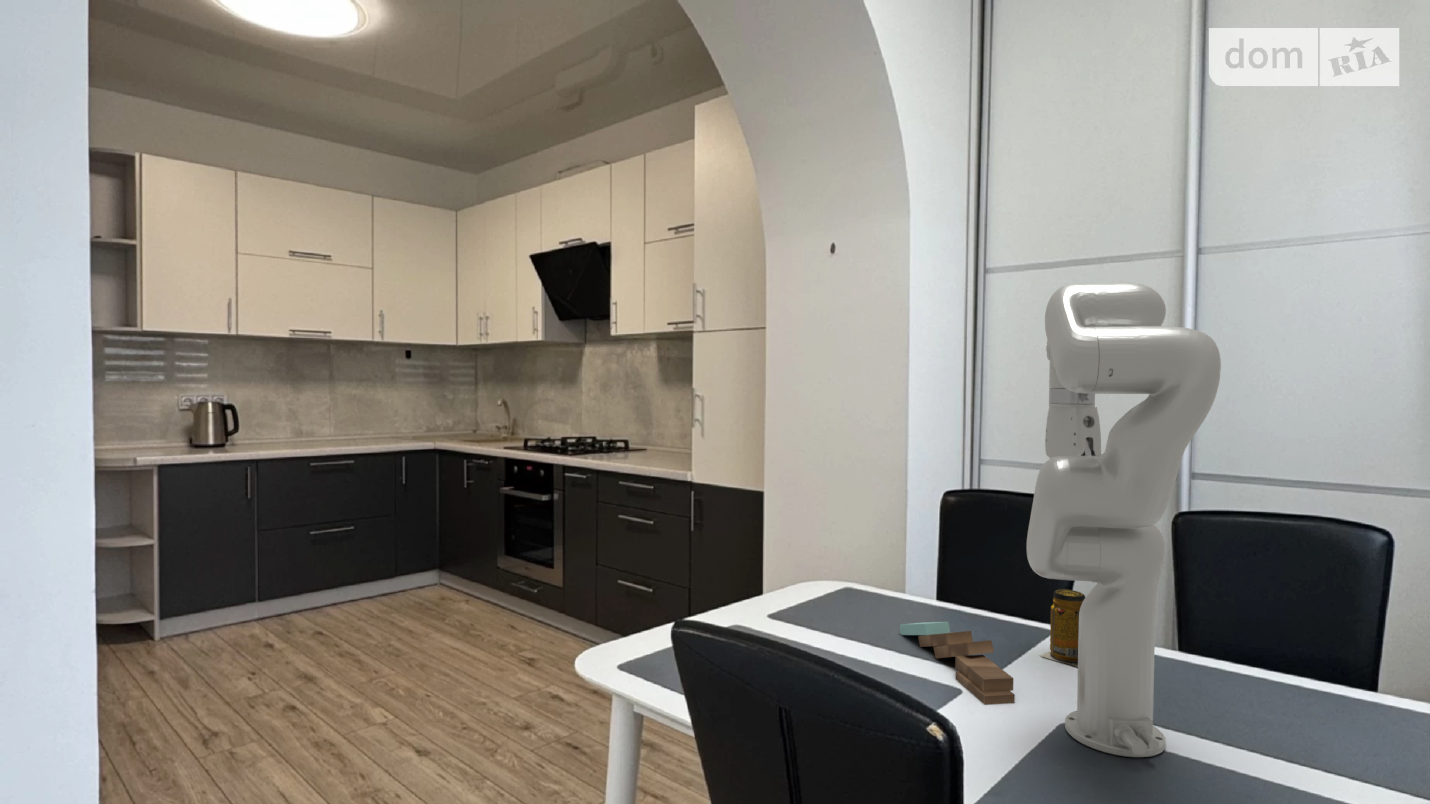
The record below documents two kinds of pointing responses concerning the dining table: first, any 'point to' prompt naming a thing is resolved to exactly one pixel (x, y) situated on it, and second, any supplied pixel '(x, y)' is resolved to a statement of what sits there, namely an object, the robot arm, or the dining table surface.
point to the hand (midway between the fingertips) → (1069, 499)
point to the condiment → (1065, 626)
